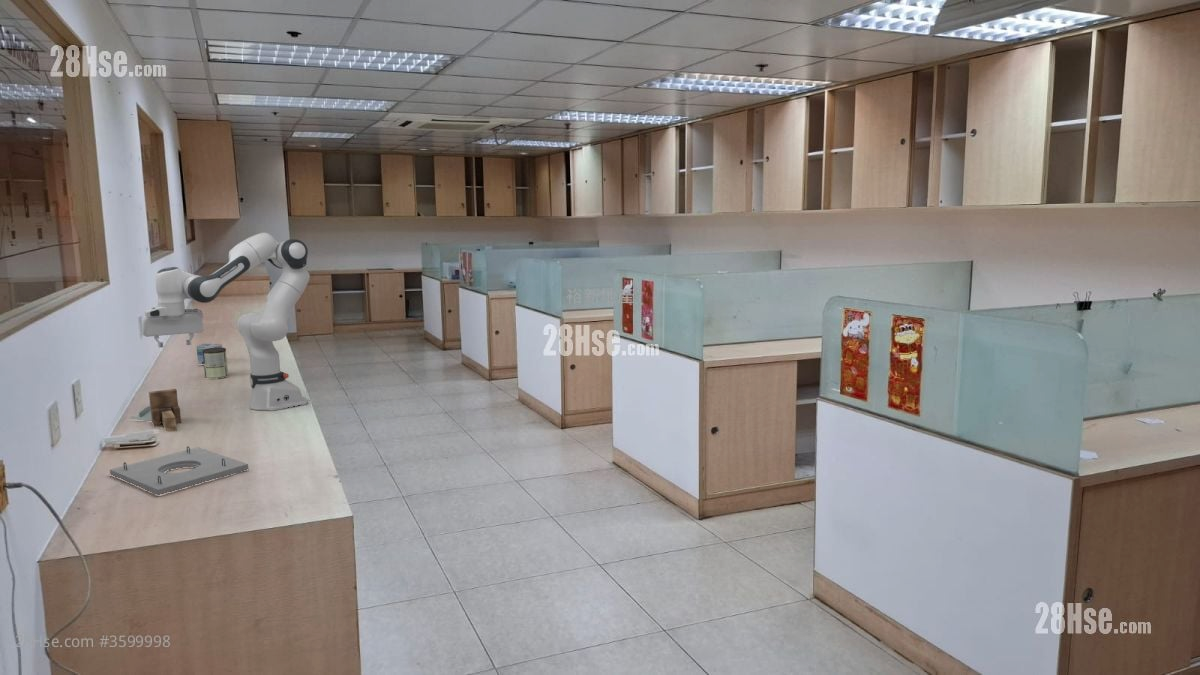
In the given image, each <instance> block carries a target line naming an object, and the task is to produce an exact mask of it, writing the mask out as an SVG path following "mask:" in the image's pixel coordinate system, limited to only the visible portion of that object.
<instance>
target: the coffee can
mask: <svg viewBox="0 0 1200 675" xmlns="http://www.w3.org/2000/svg"><path fill="white" fill-rule="evenodd" d="M202 352H203V360H204V366H203V368H204V379H205V378H208V379H216V378H223V379H225V378H224V377H227V376H228V377H229V372H228V361H227V360H228V359H227V348H225V347H222V348H208V349H204V350H202ZM228 377H227V378H228ZM208 379H207V380H208ZM216 380H217V379H216Z"/></svg>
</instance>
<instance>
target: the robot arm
mask: <svg viewBox="0 0 1200 675" xmlns="http://www.w3.org/2000/svg"><path fill="white" fill-rule="evenodd" d="M308 254H309V251H308V247H307V244H305V243H304V242H303V241H302V240H299V239H295V238H291V239H287V240H284V241H281V242H279V241H277V240H276V239H275V238H274V236H273V235H271V233H268V232H259V233H256V234H255V235H252V236H249V237H247V238H246V239H244V240H242V241H240V242H238V243H237V244H236V245H235V246H234V247H232V248H231V249H230V250H229V251H228V262H227V263H226V264H225V265H223V266H222V267H220V268H218V270H216V271H214V272H213V273H211V274H209V275H197V274H193V273H190V272H187V271H184V270H182V269H180V268H179V267H177V266H171V267H166V268H165V267H164V268H161V269H160V270H158V271H157V273H156V277H155V278H156V279H155V289H156V290H155V291H156V294H157V297H158V298H157V299H158V300H157V306H155V307H151V308H149V309H146V310H145V311H144V315H145V317H144V318H143V321H142V335H143V336H145V337H149V338H150V337H153V338H154V340H155V341H156V342H157V345H158V348H164V342H163V341H159V339H160V337H161V336H171V335H181V334H183V335H184V334H188V335H189V338H188V339H186V340H185V341H186V343H185V344H186V346H191V345H192V341H193V338H194V336H195V334H197V333H202V332H203V331H204V324H203V318H204V313H203V311H202V310H201V309H198V308H193V309H192V308H187V309H186V306H185V300H186V299H188V300H192V301H197V303H204V304H205V303H211V302H212V301H214V300H215V299H216V298H217V297H218V296H219V294H220V292H222V290H223V289H224V288H225V287H226V286H227V285H229V284H231V283H232V282H233V281H235V280H236V279H238V278H239V277H240V276H242V275H243V274H245V273H247V272H248V271H251V270H252V269H254V268H256V267H258V266H259V265H261V264H262V263H264V262H265V261H267V262H269V263H270V264H271V265H272V266H274V267H275V268H278V269H282V271H281V272H282V273H281V275H280V277H279V278H278V279H277V281H276V282H275V283H274V285H273V286H272V288H271V289H270V291H269V292H268V293H267V295H266V297H265V299H266V305H265V307H264V310H263V311H262V312H255V311H253V312H252V311H251V312H248V313H245V314H243V315H241V316H240V317H239V318H238V320H237V325H236V326H237V330H238V332H239V333H240V334H241V336H242V337H243V340H244V342H245V346H246V348H247V351H248V354H249V355H248V356H249V363H250V374H249V376H250V377H249V379H250V380H249V381H250V382H249V384H250V387H251V396H250V404H249V409H250V410H255V411H272V412H273V411H278V410H284V409H289V408H294V407H293V406H295V407H299V406H298V405H300V406H305V405H307V404H308V403H309V400H308V398H306V397H304V396H302V395H303V394H302V391H301V389H300V388H299V387H298V386H297V385H295V384H293V383H292V382H290V381H289V380H287V379H288V378H289V376H290V375H289V373H287V372H284V371H282V370H281V363H280V353H279V352H278V349H276V347H275V345H274V342H277V341H280V340H283V339H285V337H286V336H287V334H288V332H289V325H288V320H289V318H290V314H291V312H292V311H293V308H294V306H296V304H297V303H298V301H299V300H300V298H301V296H302V295H303V293H304V291H305V290H306V287H308V283H309V282H310V279H311V276H310V273H309V271H308V270H307V268H305V267H306V265H307V258H308ZM288 407H289V408H288Z"/></svg>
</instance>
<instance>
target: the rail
mask: <svg viewBox="0 0 1200 675" xmlns="http://www.w3.org/2000/svg"><path fill="white" fill-rule="evenodd" d="M161 418H162V423H161V424H163V425H162V427H163V426H164V427H163V428H165V429H164V431H165V430H166V431H168V432H175V431H177V424H176V420H175V416H174V414H173V412H172V411H171V408H166V409H161ZM166 431H165V432H166Z"/></svg>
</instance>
